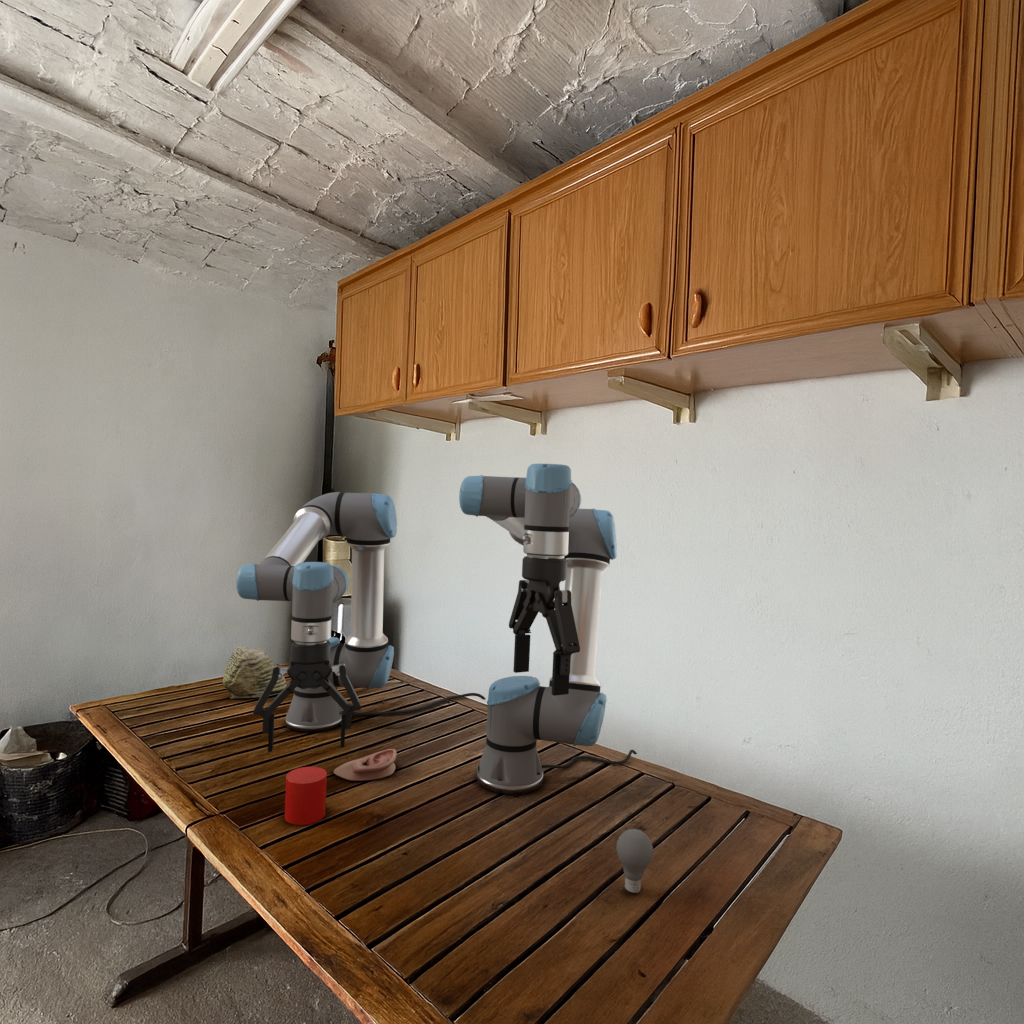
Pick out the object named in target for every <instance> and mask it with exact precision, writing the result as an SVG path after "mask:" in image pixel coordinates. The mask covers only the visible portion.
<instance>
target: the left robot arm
mask: <svg viewBox="0 0 1024 1024" xmlns="http://www.w3.org/2000/svg"><path fill="white" fill-rule="evenodd" d="M397 526H398V519H397V511H396V506H395V503H394V500H393V498H392V497H391V496H390V495H388V494H382V493H375V492H343V491H333V492H328V493H324V494H322V495H320V496H319V495H318V496H317V497H315V498H313V499H311V500H309V501H307V502H306V503H305V504H303V505H302V506H301V507H300V508H299V509H298V510H297V512H296V513H295V514H294V516H293V521H292V524H291V525H290V526H289V528H287V530H286V532H285V533H284V534H283V535H282V536H281V538H280V539H279V540H278V541H277V542H276V543H275V544H274V546H273V547H272V548H271V550H270V551H269V552H268V553H267V554H266V556H265V557H264V558H263V560H261V561H260V562H259V564H258V563H255V562H253V563H245V564H243V565H241V566H240V568H239V569H238V572H237V574H236V582H235V586H236V592H237V594H238V596H239V597H240V598H242V599H245V600H252V601H253V600H254V601H257V602H258V601H269V602H270V601H271V602H273V601H274V602H292V603H291V605H292V606H291V629H290V631H291V632H290V633H291V634H290V639H291V640H292V642H291V643H290V654H289V655H290V657H289V665H288V666H283V665H282V666H281V665H280V664H279V663H277V664H276V663H275V666H274V668H273V673H272V678H271V679H270V681H269V683H268V685H267V686H266V688H265V690H264V692H263V694H262V695H261V697H259V698H258V701H257V703H256V704H255V706H254V707H253V711H252V714H253V715H254V716H260V717H261V718H262V733H263V735H267V734H268V739H267V753H272V752H273V751H274V750H273V749H274V742H275V741H274V738H275V737H274V736H275V713H274V712H275V711H276V710H277V709H278V707H279V706H280V705H281V704H282V703H283V702H284V701H285V700H286V698H288V697H289V695H290V694H291V693H292V692H293V695H292V696H293V697H292V699H291V702H290V704H289V708H287V709H286V715H285V726H286V728H287V729H289V730H291V731H294V732H295V731H296V732H301V733H316V732H325V731H329V730H332V729H335V728H337V727H339V726H340V748H345V743H346V742H345V741H346V730H351V728H352V716H355V717H356V716H359V717H360V716H361V717H370V716H373V717H375V716H389V715H390V716H391V715H400V714H409V713H410V714H411V713H416V712H419V711H423V710H426V709H429V708H431V707H433V706H436V705H439V704H441V703H444V702H446V701H451V700H454V699H455V700H456V699H462V698H466V697H467V698H468V697H478V698H480V699H481V700H486V701H487V699H486V697H485V696H484V695H483V694H481V693H477V692H468V693H462V694H457V695H451V696H447V697H444V698H442V699H439V700H435V701H433V702H430V703H428V704H426V705H423V706H420V707H415V708H410V709H402V710H391V711H390V710H389V711H371V712H370V711H369V712H368V711H367V712H366V711H365V712H360V710H361V709H362V702H361V701H360V698H359V696H358V695H357V692H356V690H355V689H357V688H358V689H368V690H370V689H381V688H384V687H385V686H386V685H387V684H388V681H389V678H390V675H391V671H392V667H393V661H394V656H395V647H394V646H392V645H391V644H389V639H388V637H387V636H386V634H384V631H383V630H384V629H383V627H384V625H383V624H384V590H385V589H384V587H385V585H384V583H385V549H387V547H389V545H390V544H391V539H393V538H395V537H396V535H397V530H398V528H397ZM327 536H346V544H347V545H348V546H349V547H350V548H351V598H350V599H351V604H350V605H351V608H350V609H351V611H350V634H349V635H348V636H347V637H346V638H345V640H344V643H341V641H340V638H338V637H337V636H335V637H334V636H332V611H333V603H334V602H336V601H338V600H340V599H342V598H343V596H344V595H345V593H346V592H347V591H348V589H349V585H350V579H349V576H348V574H347V572H346V571H345V570H344V569H343V568H342V567H339V566H337V565H332V564H331V563H329V562H325V561H323V562H322V561H306V559H307V558H308V557H309V555H310V554H311V552H312V551H313V549H314V548H315V546H316V545H317V544H318V542H320V541H321V540H323V539H325V538H327ZM285 674H287V675H288V677H289V678H290V681H288V683H286V685H287V686H286V687H285V688H284V689H283V690H282V691H281V692H280V693H279V694H277V696H275V697H274V699H273V700H272V701H271V702H270V703H269V704H268V705H267V706H266V707H264V706H265V704H266V702H267V701H268V699H269V697H270V696H269V695H270V694H271V692H272V690H273V688H274V686H275V685H276V683H277V680H278V678H282V677H283V676H284V675H285ZM338 688H344V689H345V692H346V694H347V695H348V698H349V700H350V701H351V703H349V701H348V700H347V699H346V698H345V697H344V695H343V694H342V693H340V691H339V690H338ZM354 688H355V689H354Z"/></svg>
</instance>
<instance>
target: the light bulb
mask: <svg viewBox="0 0 1024 1024" xmlns="http://www.w3.org/2000/svg"><path fill="white" fill-rule="evenodd" d="M615 849H616V854H617V857H618V859H619V861H620V863H621V865H622V867H623V873H624V874H623V875H624V876H625V878H624V888H625V890H627V891H628V892H630V893H634V894H635V893H639V892H640V891H641V889H642V887H641V886H642V879H643V877H644V875H645V871H646V868H647V867H648V866H649V864H650V863H651V861H652V859H653V855H654V847H653V843H652V841H651V838H649V836H648V835H647V834H646V833H645V832H643V831H642V830H641V829H636V828H629V829H627V830H625V831H623V832H622V833H621V834H620V835H619V837H618V839H617V841H616V847H615Z"/></svg>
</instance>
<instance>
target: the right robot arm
mask: <svg viewBox="0 0 1024 1024" xmlns="http://www.w3.org/2000/svg"><path fill="white" fill-rule="evenodd" d="M458 493H459V495H458V501H459V508H460V510H461V512H462V513H463V514H464V515H467V516H475V517H477V518H478V517H486V518H487V519H490V520H492V521H493V523H496V524H497V525H499V526H500V527H501V528H503V529H505V530H506V531H508V534H509V535H510V538H512V540H513V541H515V542H516V543H518V544H519V545H521V546H522V550H523V553H524V554H526V556H523V558H522V561H521V562H522V566H521V577H522V578H523V579H519V581H518V588H517V594H516V598H515V601H514V605H513V608H512V611H511V615H510V618H509V621H508V627H509V629H512V633H513V634H514V648H513V649H514V650H513V673H515V674H517V673H518V674H519V673H528V672H530V654H531V634H532V631H531V628H532V625H533V623H534V622H535V620H536V618H537V616H538V614H539V613H540V614H541V617H543V618H544V619H545V620H546V624H547V626H548V629H549V632H550V635H551V638H552V642H553V645H554V648H555V650H554V651H553V652H552V671H551V672H552V673H551V674H552V675H551V677H550V678H549V681H548V682H549V683H548V686H541V682H540V680H539V678H537V677H534V676H530V675H513V676H507V677H502V678H500V679H497V680H495V681H493V682H492V683H491V684H490V686H489V688H488V696H487V700H486V705H487V710H486V711H487V712H486V733H485V734H486V737H485V747H484V749H483V752H482V755H481V758H480V761H479V763H478V765H477V767H476V781H477V783H478V784H479V785H480V786H481V787H482V788H484V789H485V790H488V791H491V792H493V793H498V794H504V795H521V794H527V793H531V792H533V791H536V790H538V789H539V788H540V787H541V786H542V785H543V783H544V771H543V769H565V768H568V767H569V766H571V765H572V763H573V762H575V761H578V760H584V759H585V760H592V761H596V762H599V763H603V764H608V765H624V764H625V763H627V762H628V761H629V760H630V758H631V757H632V754H633V755H637V754H638V753H637V751H636V750H635V749H629V751H628V753H627V755H626V756H625V758H624V759H622V760H607V759H605V758H604V759H603V758H600V757H595V756H591V755H577V756H574V757H572V758H571V759H570V760H569V761H568V762H567V763H565V764H541V759H540V757H539V756H540V755H539V752H538V749H537V741H543V742H545V741H546V742H552V743H559V744H565V745H572V746H574V747H576V746H580V747H592V746H594V745H595V744H596V743H597V742H598V740H599V737H600V734H601V730H602V727H603V724H604V723H603V722H604V718H605V713H606V707H607V706H606V705H607V694H606V693H604V692H601V686H602V685H601V683H600V682H599V681H598V679H597V678H596V663H597V650H598V649H597V648H598V637H599V623H600V609H601V599H602V598H601V596H602V583H603V574H604V572H605V571H606V570H608V569H609V568H610V565H611V560H615V559H617V557H618V552H617V551H618V547H617V532H616V523H615V518H614V514H612V512H611V511H610V510H605V509H596V508H580V507H581V505H582V494H581V491H580V489H579V488H578V486H577V485H576V484H575V483H574V482H573V480H572V469H571V468H570V465H569V466H568V465H567V464H561V463H531V464H530V465H529V466H528V467H527V469H526V476H525V477H516V476H515V477H514V476H492V475H491V476H490V475H483V474H480V475H469V476H466V477H464V479H463V480H462V481H461V483H460V487H459V492H458ZM562 582H564V589H561V585H560V584H561V583H562Z"/></svg>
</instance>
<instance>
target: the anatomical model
mask: <svg viewBox="0 0 1024 1024" xmlns="http://www.w3.org/2000/svg"><path fill="white" fill-rule="evenodd" d="M396 759H397V750H396V749H395V748H389V749H388V748H387V749H384V750H380V751H377V752H374V753H372V754H369V755H366V756H363V757H361V758H357V759H353V760H350V761H347V762H345V763H342V764H341V765H339V766H337V767H336V768H334V769H333V774H334V775H336V776H338V777H339V778H342V779H345V780H348V781H354V782H359V781H372V780H377V779H382V778H386V777H388V776H391V775H393V773H394V772H395V771H396V764H395V760H396Z"/></svg>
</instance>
